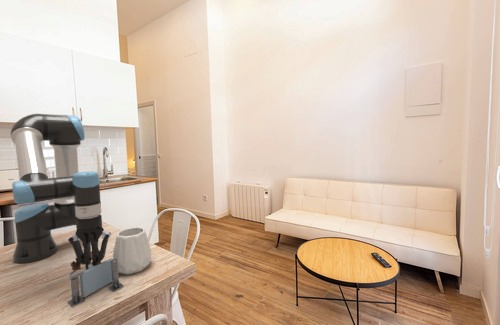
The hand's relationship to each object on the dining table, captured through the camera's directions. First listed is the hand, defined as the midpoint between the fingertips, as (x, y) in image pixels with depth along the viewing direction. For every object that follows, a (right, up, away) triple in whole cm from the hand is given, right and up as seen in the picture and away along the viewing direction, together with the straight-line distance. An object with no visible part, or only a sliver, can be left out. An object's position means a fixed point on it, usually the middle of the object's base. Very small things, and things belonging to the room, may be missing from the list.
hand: (93, 280), depth 86 cm
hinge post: (0, -3, -8) cm, 9 cm away
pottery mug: (-10, -2, +13) cm, 16 cm away
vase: (+8, -1, +13) cm, 15 cm away
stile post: (+9, -2, -1) cm, 9 cm away
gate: (+3, -2, -3) cm, 4 cm away
